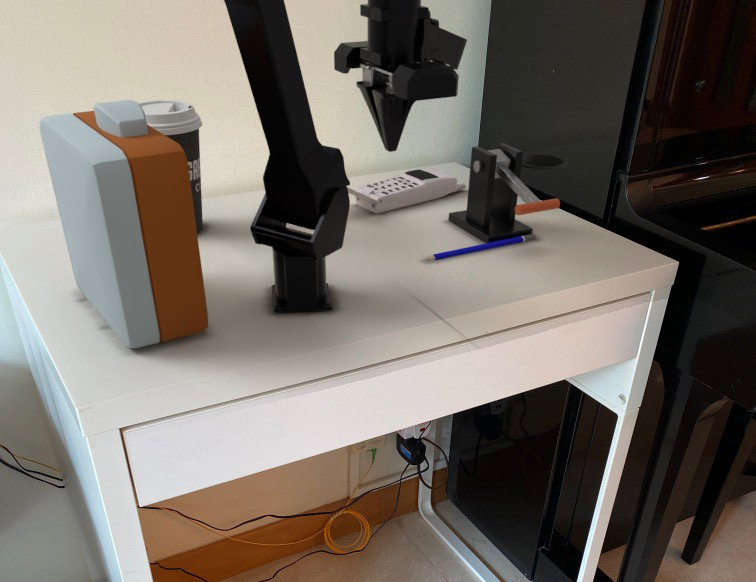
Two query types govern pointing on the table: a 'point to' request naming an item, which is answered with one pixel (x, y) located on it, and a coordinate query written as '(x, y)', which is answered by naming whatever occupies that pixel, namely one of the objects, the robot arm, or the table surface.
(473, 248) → the pencil
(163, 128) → the coffee cup
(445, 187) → the mobile phone
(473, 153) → the switch bracket
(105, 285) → the alarm clock
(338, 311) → the table surface
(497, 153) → the switch lever
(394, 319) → the table surface
